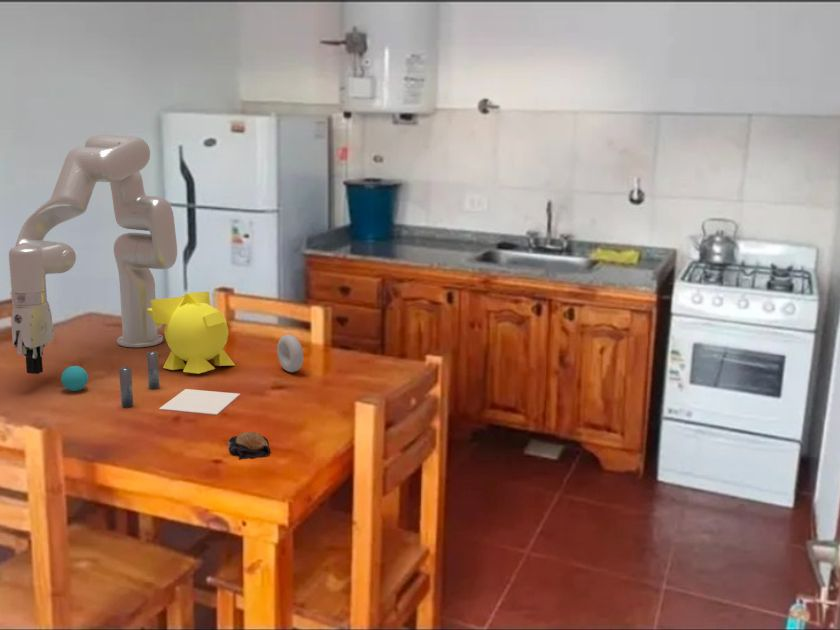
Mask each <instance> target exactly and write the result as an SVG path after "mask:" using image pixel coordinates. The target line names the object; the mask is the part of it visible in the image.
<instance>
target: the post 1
mask: <svg viewBox="0 0 840 630" xmlns="http://www.w3.org/2000/svg"><path fill="white" fill-rule="evenodd" d="M118 370H119V386H120V402H121V403H120V405H121V406H120V407H122V408H125V409H127V408H132V407H133V406H134V393H133V392H134V391H133V373H132V366H122V367H119V369H118Z"/></svg>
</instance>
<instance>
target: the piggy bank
mask: <svg viewBox="0 0 840 630" xmlns="http://www.w3.org/2000/svg"><path fill="white" fill-rule="evenodd" d="M210 298H211V297H210V292H209V291H201V292H200V291H199V292H198V291H196V292H195V291H193V292H186V293H185V294H184V295H183V296H176V297H175V296H174V297H167V298H158V299H157V298H156V299H154V300H151V305H152V308H149V309H147V311H148V312H149V314H150V316H151V318H152V319H153V321H154V323H155V324H156V326H157V327H159V326H161V325H162V326H163V325H165V327H164V329H163V332H164V338H165V342H166V344H167V345H168V346H167V347H169V349H170V353H169V355H168V356H167V358H166V361H165V363H164V365H163V367H162V368H163V369H167V370H171V371H175V370H183V371H182V372H183V373H189V374H190V373H191V374H197V375H198V374H201V373H206V372H208V371H212V370H215V369H216V368H215V366H217V367H221V366H224V367H225V366H236V364H235V363H234V362H233V360H232V359H231V357H230V356H229V355H228V354H227V352H226V351H225V350H224V347H225V346H226V344H227V342H228V336H229V332H230V331H229V327H228V324H227V320H226V317H225V315H224V313H223V311H220V310H219V309H217V308H216V307H214V306H212V305H211V299H210ZM162 326H161V327H162ZM212 359H213V362H214V363H213V364H214V365H212V363H210V362H209V360H212ZM184 361H185V362H186V363H185V362H184Z"/></svg>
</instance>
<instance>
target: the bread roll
mask: <svg viewBox="0 0 840 630" xmlns="http://www.w3.org/2000/svg"><path fill="white" fill-rule="evenodd" d="M269 444H270V443H269V440H268V439H267V437H265V436H262V435H261V434H260V433H258V432H257V431H248V432H242V433H240V434H238V435H236V436H232V437H230V439H228V440H227V446H228V450H229V451H228V452H230V454H231V455H232V456H233V457H238V459H239V460H241V461H242V460H246V459H249V460H250V459H259V458H260V459H261V458H266V457H267V458H268V456H269V455H270V454H271V453H272V451H271V448H270V447H269Z"/></svg>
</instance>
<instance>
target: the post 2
mask: <svg viewBox="0 0 840 630" xmlns="http://www.w3.org/2000/svg"><path fill="white" fill-rule="evenodd" d="M146 364H147V365H146V367H147V382H148V383H147V384H148V389H149V390H158V389H159V388H160V386H161V385H160V370H159V369H160V367H159V351H157V350H149V351H147V352H146Z"/></svg>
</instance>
